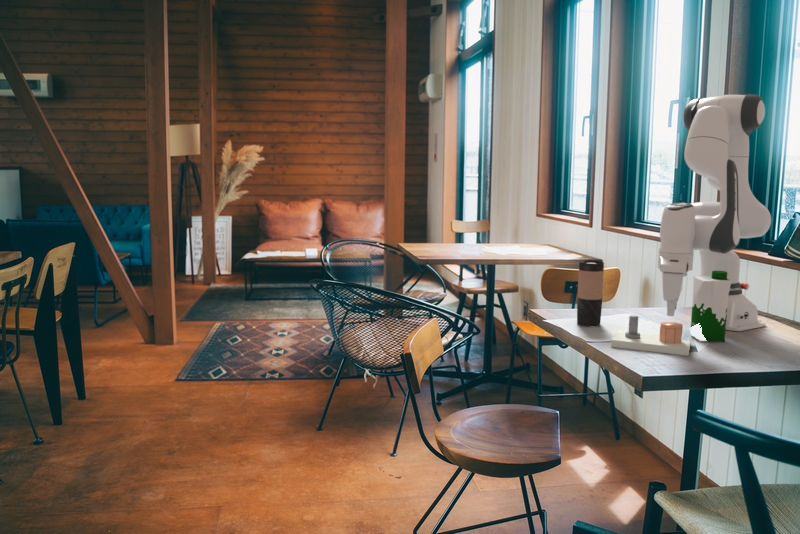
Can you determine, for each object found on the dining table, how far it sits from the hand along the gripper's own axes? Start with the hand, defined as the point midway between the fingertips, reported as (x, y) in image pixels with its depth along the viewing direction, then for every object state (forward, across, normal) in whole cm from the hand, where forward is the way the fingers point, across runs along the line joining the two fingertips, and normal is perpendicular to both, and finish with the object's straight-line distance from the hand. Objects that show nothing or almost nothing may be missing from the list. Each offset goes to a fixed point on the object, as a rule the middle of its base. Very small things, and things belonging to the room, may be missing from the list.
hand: (671, 312), depth 186 cm
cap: (+8, -1, 0) cm, 8 cm away
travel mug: (+10, -20, -25) cm, 34 cm away
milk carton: (+10, -16, +9) cm, 21 cm away
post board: (+10, -1, -5) cm, 11 cm away
